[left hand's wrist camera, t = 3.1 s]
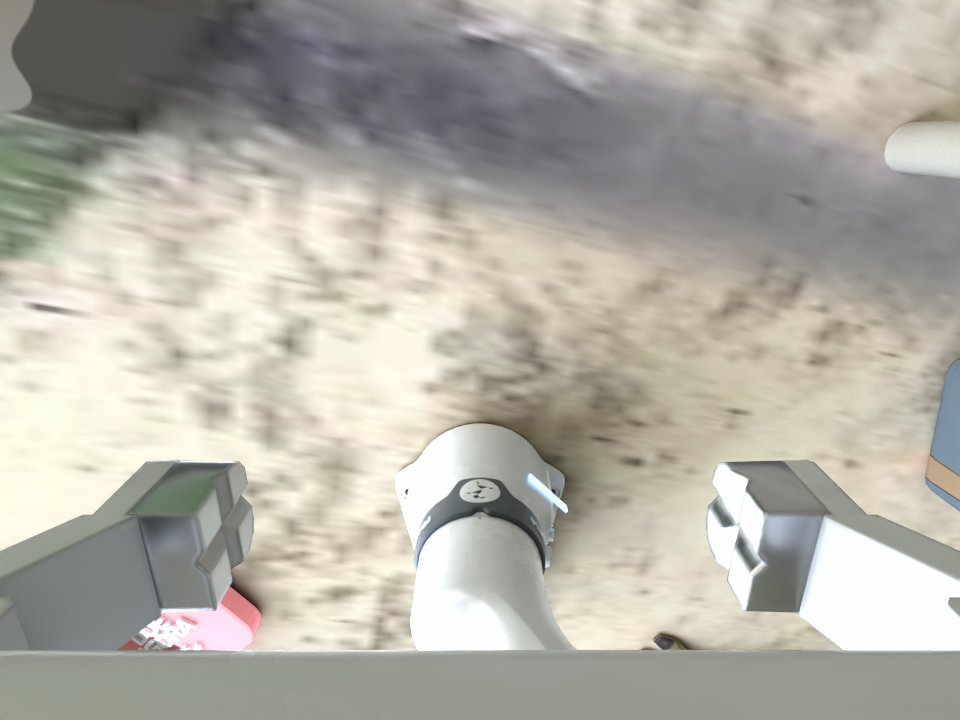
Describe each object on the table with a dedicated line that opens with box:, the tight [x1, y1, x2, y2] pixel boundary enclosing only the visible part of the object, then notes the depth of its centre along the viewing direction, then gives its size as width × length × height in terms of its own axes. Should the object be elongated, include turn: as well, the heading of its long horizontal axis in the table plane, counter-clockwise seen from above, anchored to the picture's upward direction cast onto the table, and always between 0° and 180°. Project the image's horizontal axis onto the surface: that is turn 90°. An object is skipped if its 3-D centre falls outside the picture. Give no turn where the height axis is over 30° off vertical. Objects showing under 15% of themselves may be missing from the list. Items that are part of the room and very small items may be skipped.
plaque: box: [117, 586, 261, 650], centre depth 72 cm, size 18×4×15 cm
